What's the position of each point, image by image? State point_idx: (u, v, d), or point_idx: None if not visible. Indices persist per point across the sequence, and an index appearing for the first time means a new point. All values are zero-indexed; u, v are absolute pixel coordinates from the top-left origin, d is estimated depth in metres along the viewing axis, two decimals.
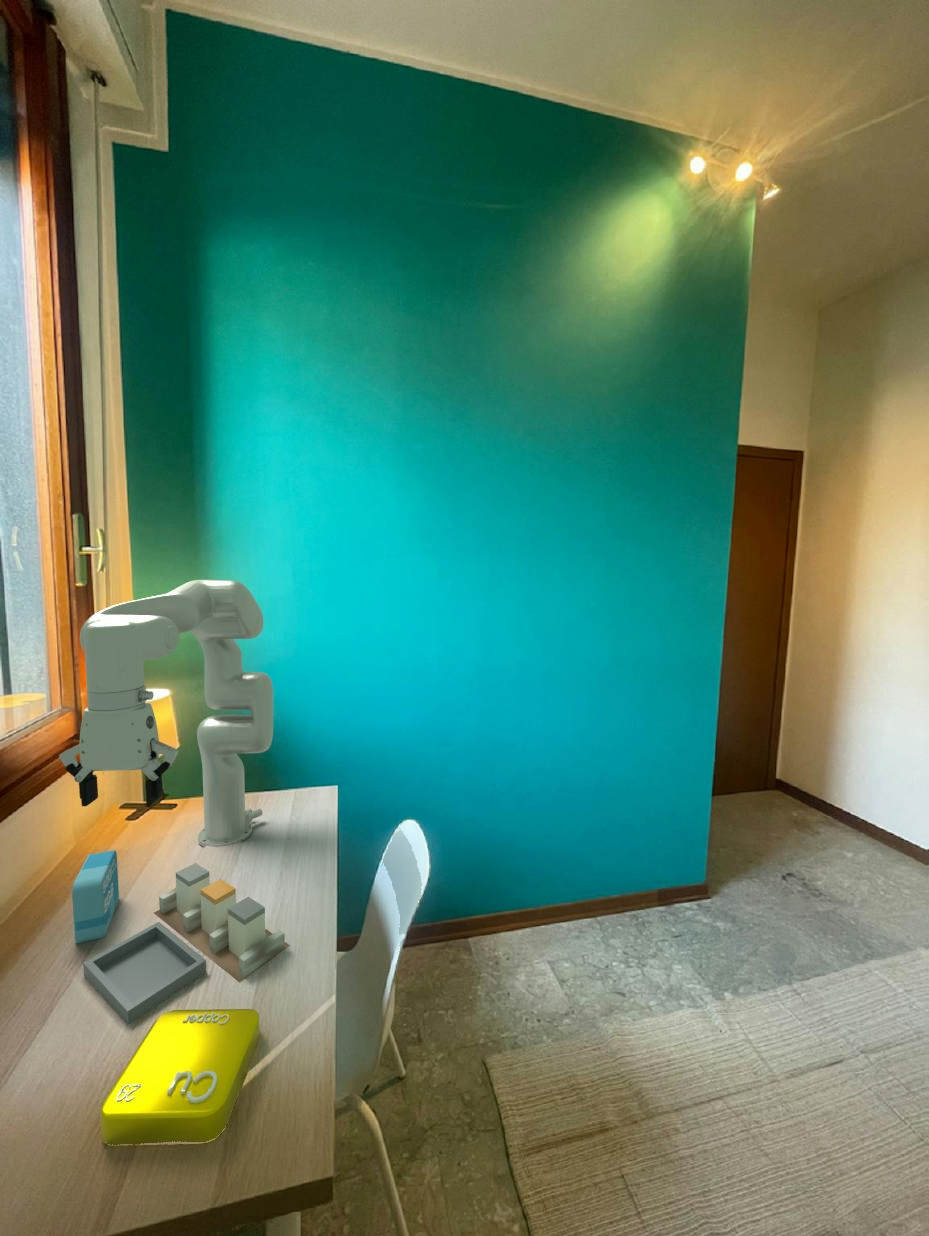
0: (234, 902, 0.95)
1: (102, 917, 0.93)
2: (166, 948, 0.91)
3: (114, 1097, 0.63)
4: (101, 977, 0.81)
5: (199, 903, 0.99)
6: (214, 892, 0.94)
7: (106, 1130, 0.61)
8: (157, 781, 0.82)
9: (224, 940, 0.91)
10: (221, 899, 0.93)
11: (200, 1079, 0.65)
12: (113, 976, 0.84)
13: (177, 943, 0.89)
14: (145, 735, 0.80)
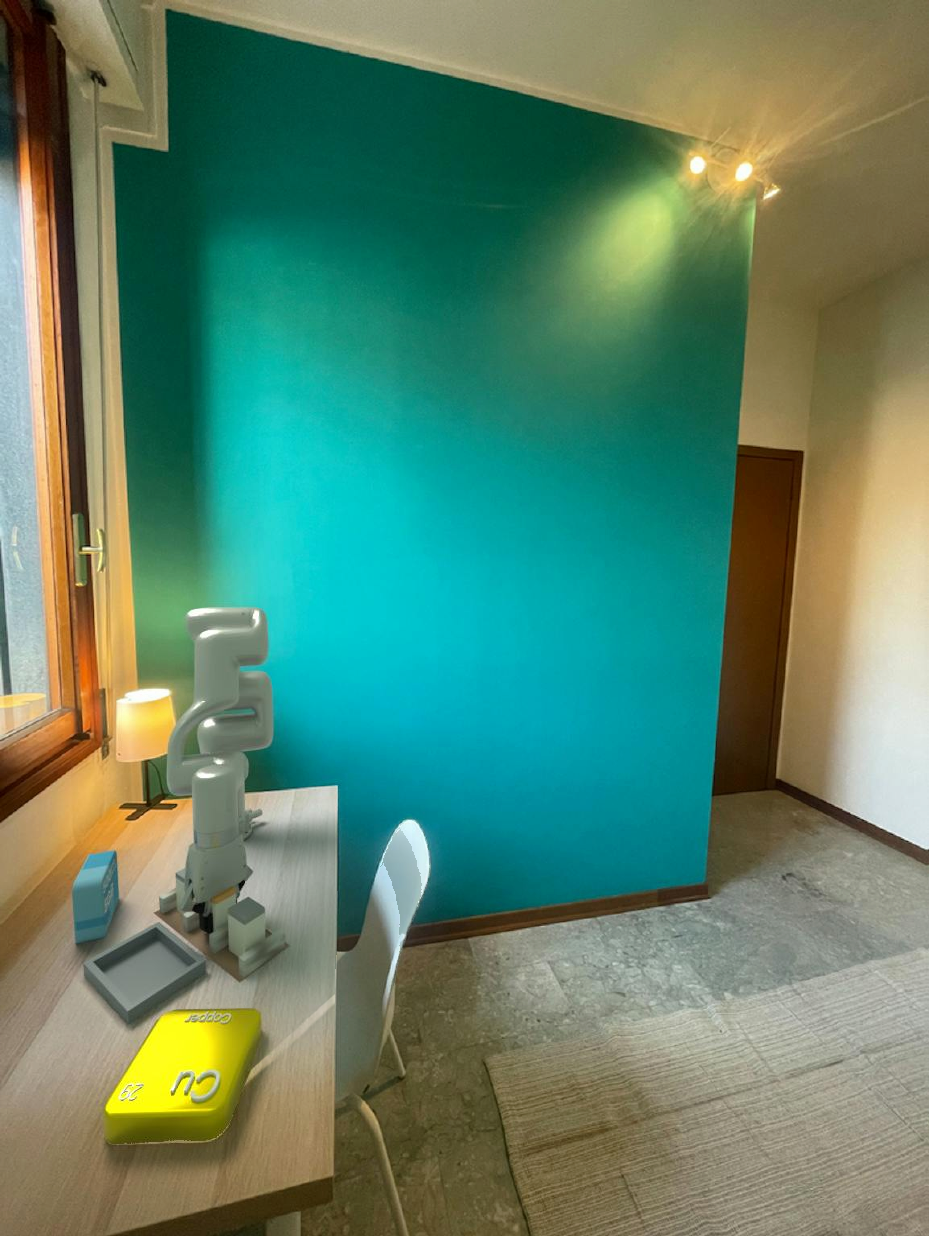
0: (234, 902, 0.95)
1: (102, 917, 0.93)
2: (166, 948, 0.91)
3: (117, 1096, 0.63)
4: (101, 977, 0.81)
5: None
6: None
7: (110, 1129, 0.61)
8: (236, 898, 0.98)
9: (224, 940, 0.91)
10: (221, 899, 0.93)
11: (202, 1078, 0.65)
12: (113, 976, 0.84)
13: (177, 943, 0.89)
14: None
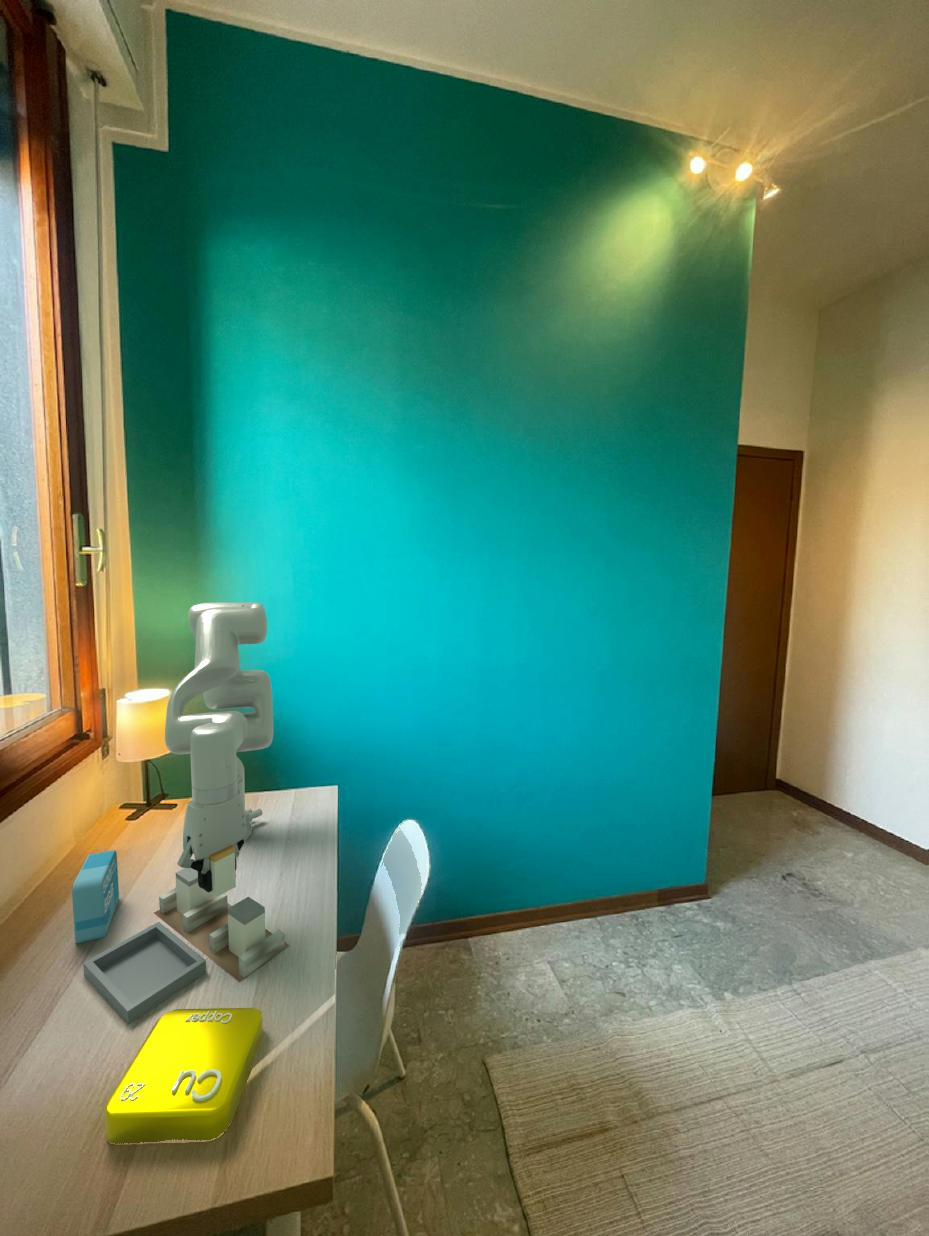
0: (233, 861, 0.95)
1: (102, 917, 0.93)
2: (166, 948, 0.91)
3: (118, 1096, 0.63)
4: (101, 977, 0.81)
5: (199, 903, 0.99)
6: None
7: (111, 1129, 0.61)
8: (235, 858, 0.97)
9: (224, 940, 0.91)
10: (220, 857, 0.93)
11: (204, 1077, 0.65)
12: (113, 976, 0.84)
13: (177, 943, 0.89)
14: None
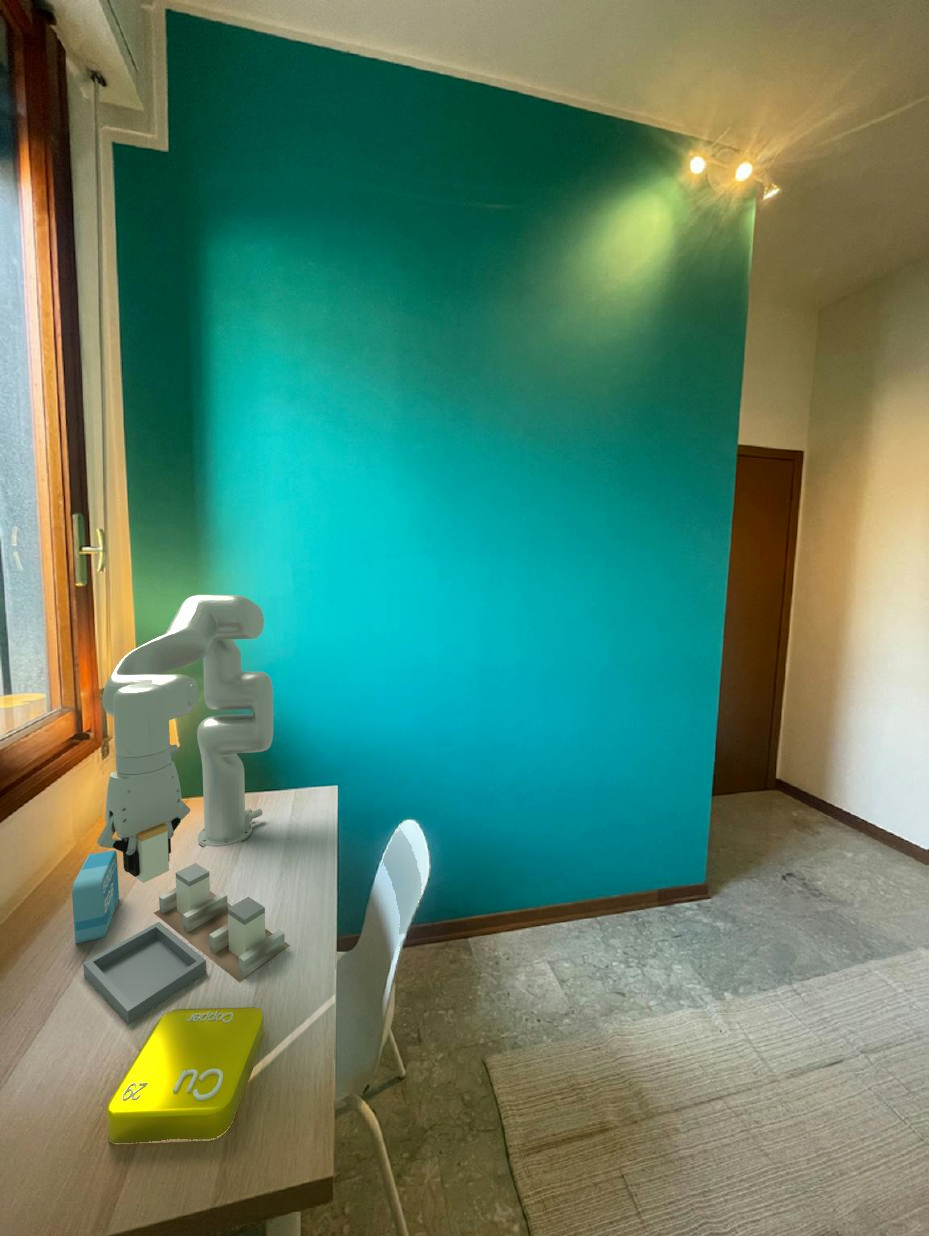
0: (166, 841, 0.84)
1: (102, 917, 0.93)
2: (166, 948, 0.91)
3: (120, 1096, 0.63)
4: (101, 977, 0.81)
5: (199, 903, 0.99)
6: None
7: (113, 1128, 0.61)
8: (169, 838, 0.86)
9: (224, 940, 0.91)
10: (149, 836, 0.81)
11: (205, 1076, 0.65)
12: (113, 976, 0.84)
13: (177, 943, 0.89)
14: (179, 785, 0.86)
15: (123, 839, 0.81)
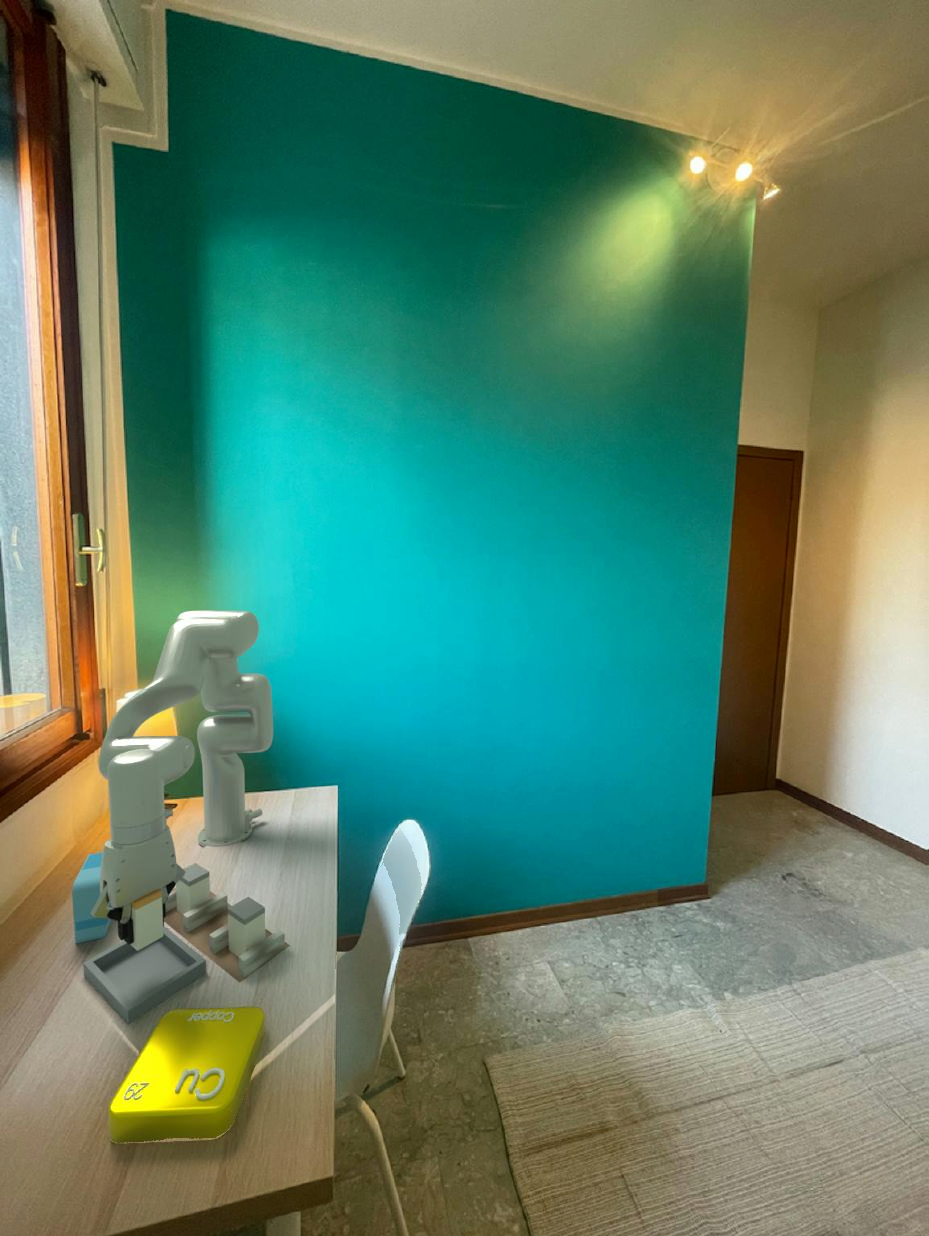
0: (160, 907, 0.84)
1: None
2: (166, 948, 0.91)
3: (121, 1096, 0.63)
4: (101, 977, 0.81)
5: (199, 903, 0.99)
6: None
7: (115, 1128, 0.61)
8: (164, 903, 0.86)
9: (224, 940, 0.91)
10: (143, 903, 0.81)
11: (207, 1076, 0.66)
12: (113, 976, 0.84)
13: (177, 943, 0.89)
14: None
15: None
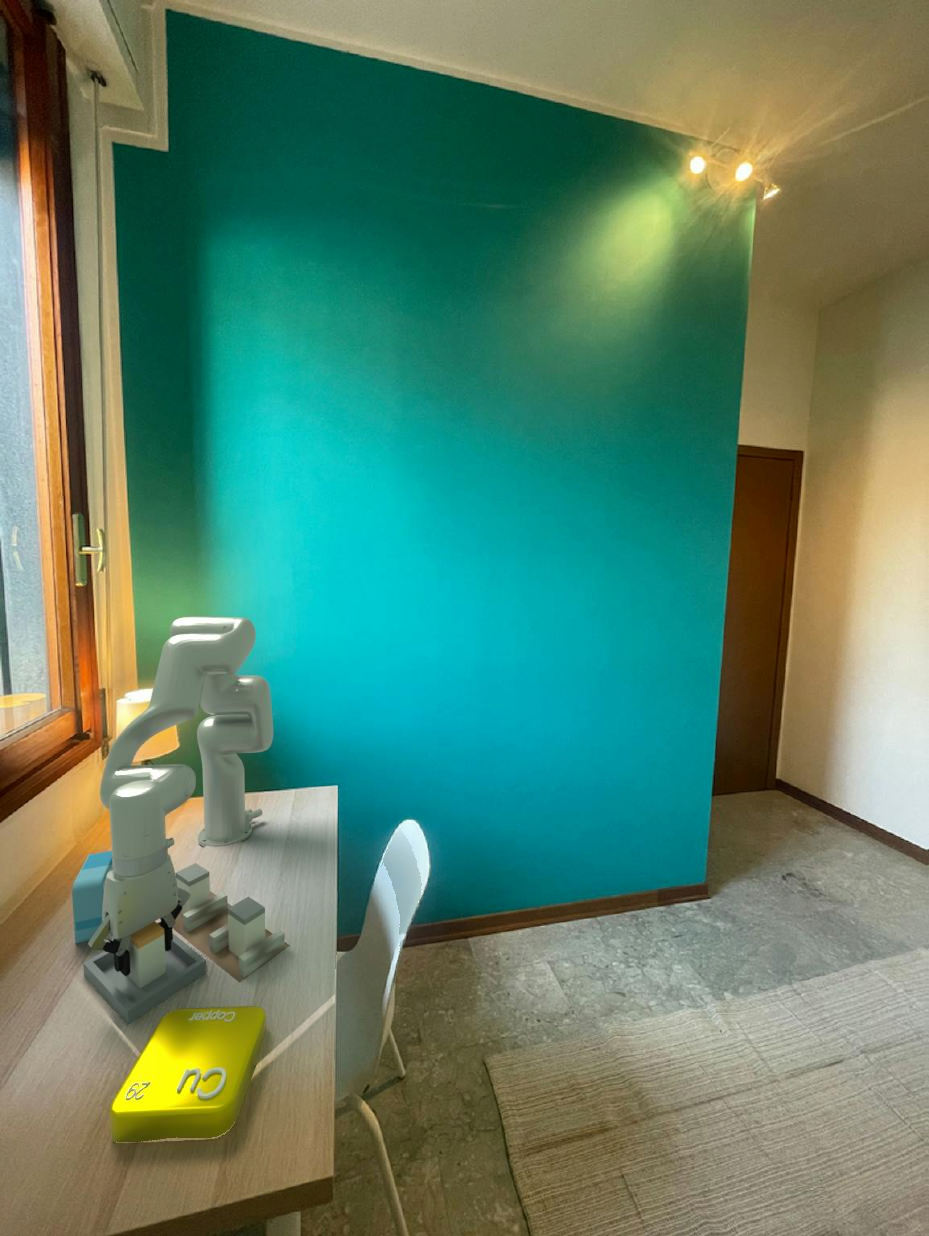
0: (162, 944, 0.85)
1: None
2: None
3: (123, 1095, 0.63)
4: (101, 977, 0.81)
5: (199, 903, 0.99)
6: (139, 933, 0.83)
7: (116, 1128, 0.61)
8: (171, 926, 0.88)
9: (224, 940, 0.91)
10: (146, 942, 0.82)
11: (209, 1075, 0.66)
12: (113, 976, 0.84)
13: (177, 943, 0.89)
14: (175, 878, 0.87)
15: None
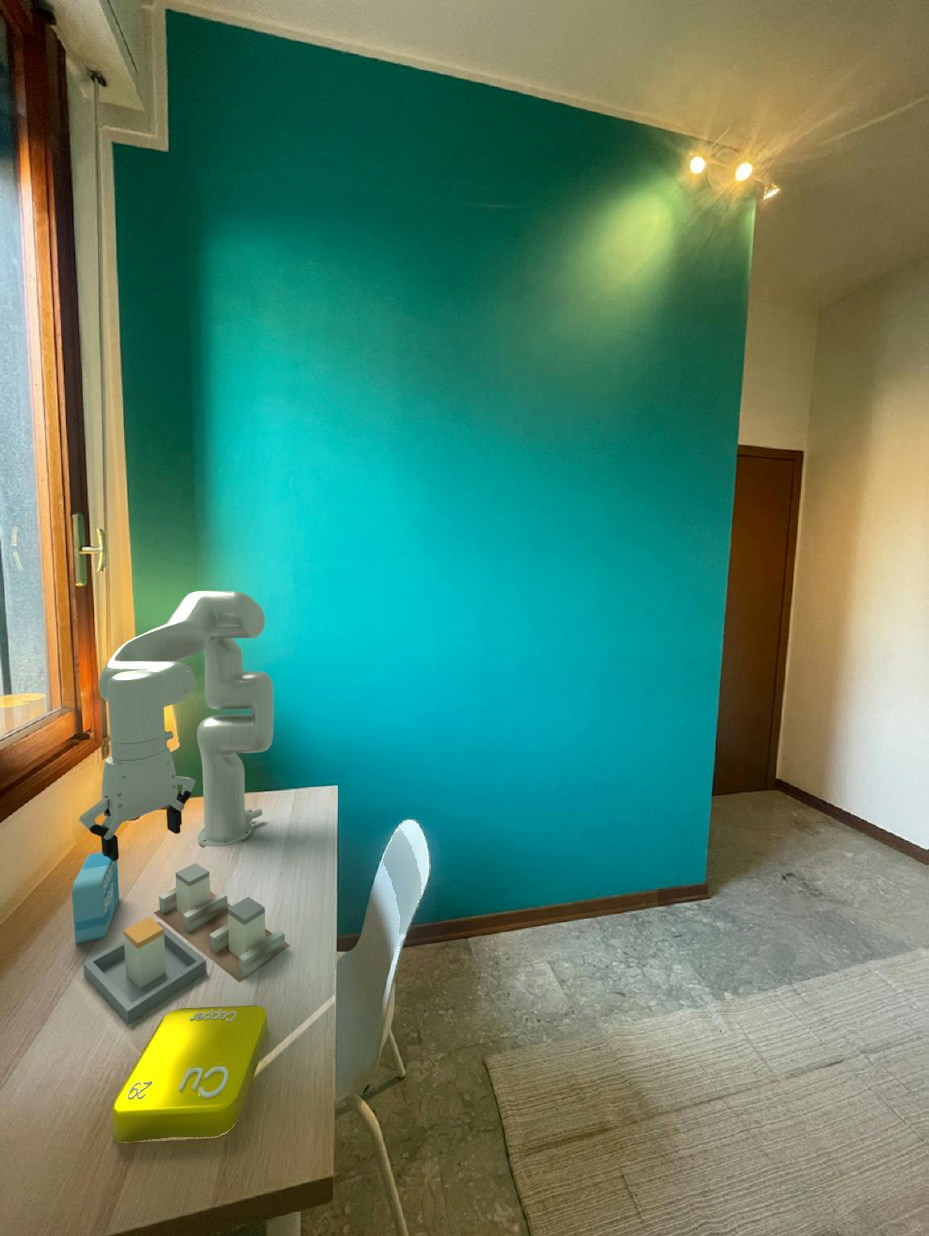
0: (162, 944, 0.85)
1: (102, 917, 0.93)
2: (166, 948, 0.91)
3: (125, 1095, 0.63)
4: (101, 977, 0.81)
5: (199, 903, 0.99)
6: (138, 933, 0.83)
7: (119, 1127, 0.61)
8: (180, 811, 0.89)
9: (224, 940, 0.91)
10: (145, 942, 0.82)
11: (210, 1074, 0.66)
12: (113, 976, 0.84)
13: (177, 943, 0.89)
14: (175, 771, 0.87)
15: (106, 822, 0.81)
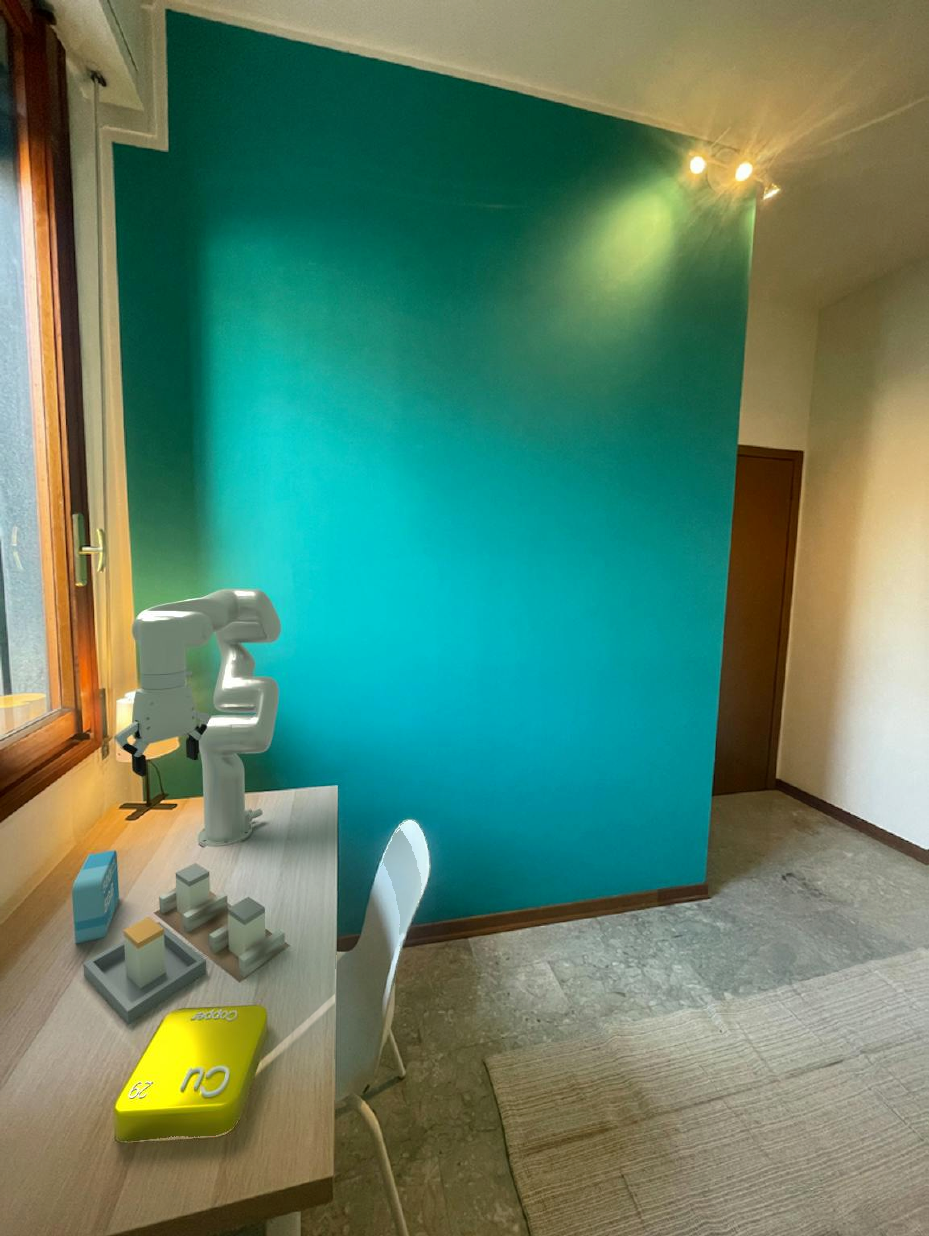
0: (162, 944, 0.85)
1: (102, 917, 0.93)
2: (166, 948, 0.91)
3: (126, 1095, 0.63)
4: (101, 977, 0.81)
5: (199, 903, 0.99)
6: (138, 933, 0.83)
7: (120, 1127, 0.61)
8: (198, 741, 1.02)
9: (224, 940, 0.91)
10: (145, 942, 0.82)
11: (212, 1074, 0.66)
12: (113, 976, 0.84)
13: (177, 943, 0.89)
14: None
15: (136, 743, 0.94)
